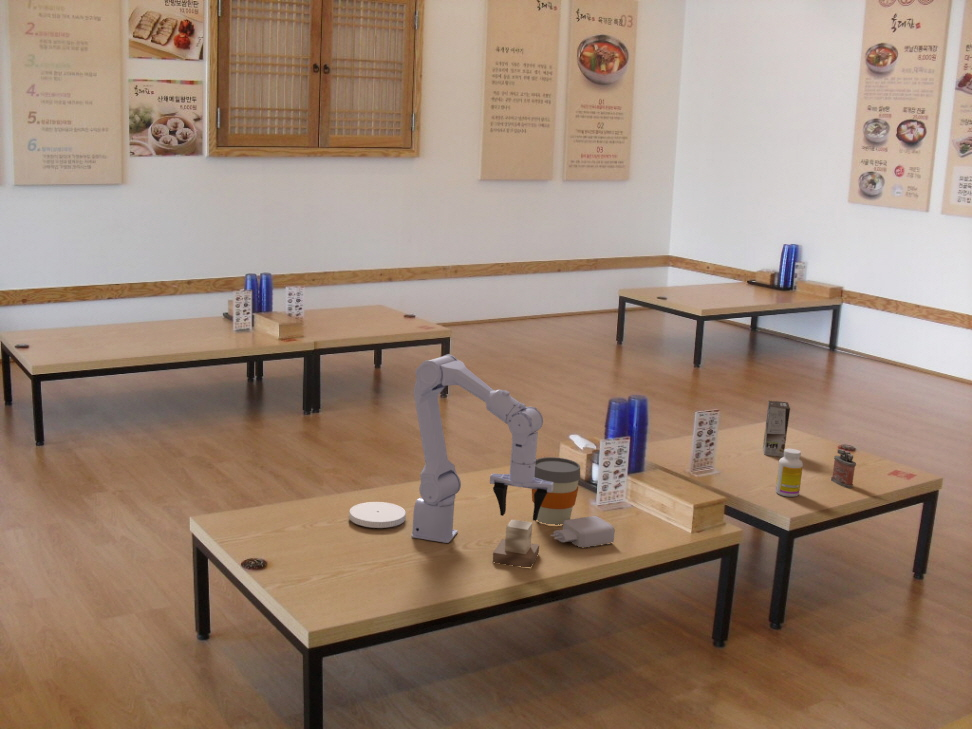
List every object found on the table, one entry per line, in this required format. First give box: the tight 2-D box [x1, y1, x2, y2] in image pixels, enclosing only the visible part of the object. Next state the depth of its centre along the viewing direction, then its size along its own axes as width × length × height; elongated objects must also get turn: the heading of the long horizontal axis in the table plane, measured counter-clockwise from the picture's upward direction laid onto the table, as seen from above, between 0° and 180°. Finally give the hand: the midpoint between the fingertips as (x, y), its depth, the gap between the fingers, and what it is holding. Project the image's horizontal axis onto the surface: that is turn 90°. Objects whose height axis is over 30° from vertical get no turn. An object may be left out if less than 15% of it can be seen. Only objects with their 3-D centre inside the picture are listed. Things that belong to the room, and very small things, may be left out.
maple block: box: [505, 518, 533, 554], centre depth 252 cm, size 5×5×6 cm
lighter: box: [830, 448, 857, 489], centre depth 323 cm, size 8×3×10 cm, turn 22°
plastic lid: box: [348, 501, 407, 529], centre depth 272 cm, size 14×14×2 cm
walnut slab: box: [492, 538, 540, 568], centre depth 253 cm, size 9×9×3 cm
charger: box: [550, 515, 616, 548], centre depth 266 cm, size 5×9×15 cm
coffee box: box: [762, 400, 791, 458], centre depth 350 cm, size 9×6×16 cm
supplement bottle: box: [775, 448, 804, 498], centre depth 310 cm, size 7×7×13 cm
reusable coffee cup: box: [531, 456, 581, 525], centre depth 278 cm, size 13×13×15 cm
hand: (518, 516), depth 251 cm, fingers open, 7 cm apart
